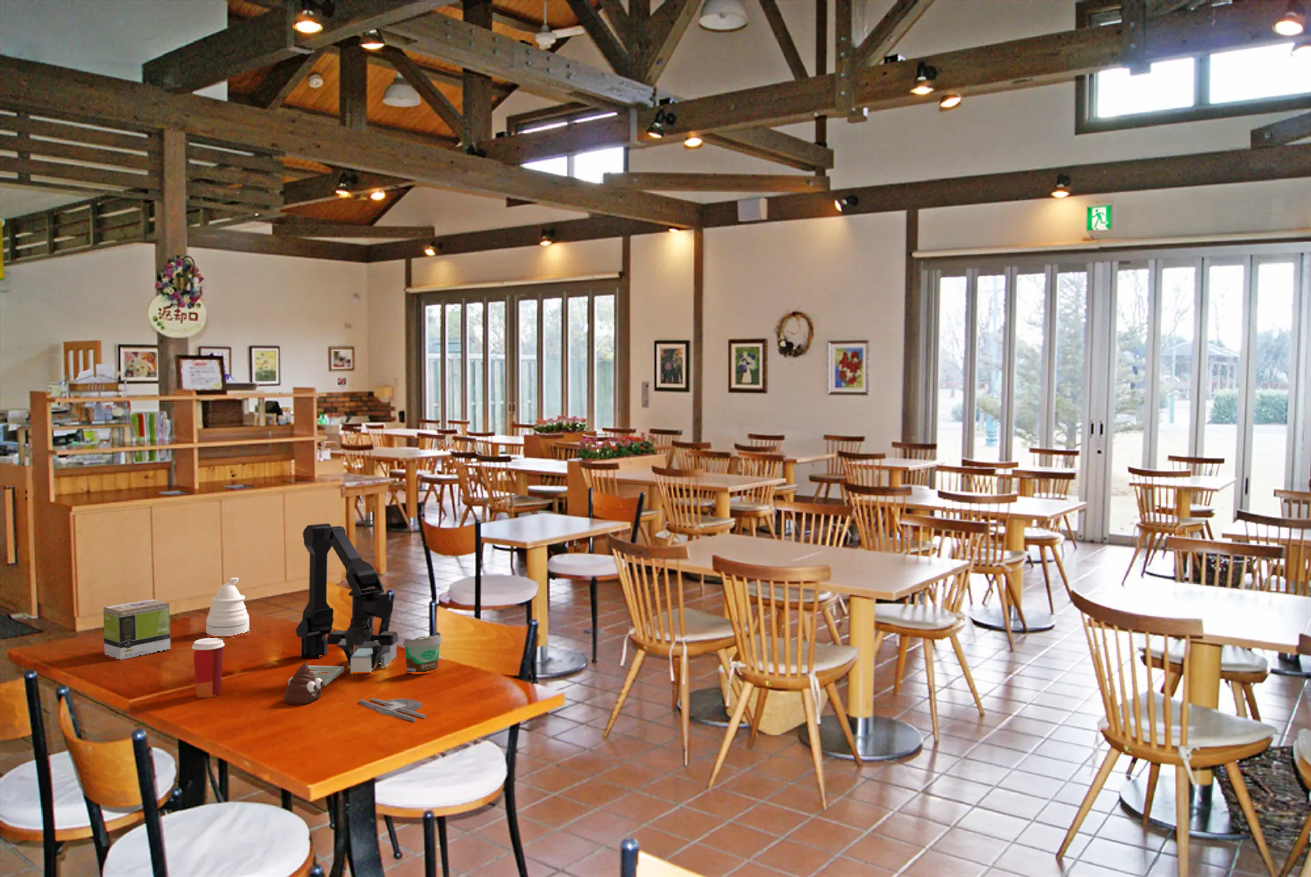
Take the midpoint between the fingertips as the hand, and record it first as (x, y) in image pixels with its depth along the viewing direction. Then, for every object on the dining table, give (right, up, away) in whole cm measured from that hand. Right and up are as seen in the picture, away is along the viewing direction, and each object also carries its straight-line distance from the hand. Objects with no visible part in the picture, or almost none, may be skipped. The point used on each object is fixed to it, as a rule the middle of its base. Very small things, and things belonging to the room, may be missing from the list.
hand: (362, 668), depth 270 cm
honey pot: (-57, +1, +42) cm, 71 cm away
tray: (-10, -1, -7) cm, 13 cm away
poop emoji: (-7, -2, -26) cm, 27 cm away
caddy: (0, -1, +2) cm, 2 cm away
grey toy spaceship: (+18, -3, -33) cm, 38 cm away
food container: (+18, -2, +1) cm, 18 cm away
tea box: (-73, 0, +17) cm, 74 cm away
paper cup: (-33, -2, -23) cm, 40 cm away
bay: (0, -1, +9) cm, 9 cm away
